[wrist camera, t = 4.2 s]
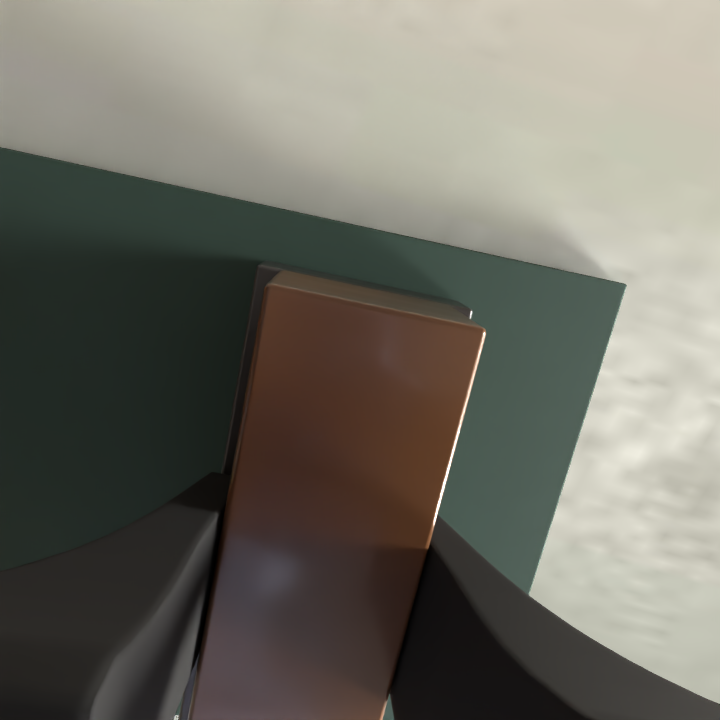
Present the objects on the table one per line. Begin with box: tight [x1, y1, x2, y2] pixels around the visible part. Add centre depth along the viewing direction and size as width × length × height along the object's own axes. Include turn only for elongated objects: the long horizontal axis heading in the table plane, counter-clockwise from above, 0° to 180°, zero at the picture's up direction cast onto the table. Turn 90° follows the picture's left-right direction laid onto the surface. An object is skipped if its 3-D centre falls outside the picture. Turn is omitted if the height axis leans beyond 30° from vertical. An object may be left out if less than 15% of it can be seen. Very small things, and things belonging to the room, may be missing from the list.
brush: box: [178, 260, 486, 720], centre depth 11 cm, size 4×10×4 cm, turn 168°
